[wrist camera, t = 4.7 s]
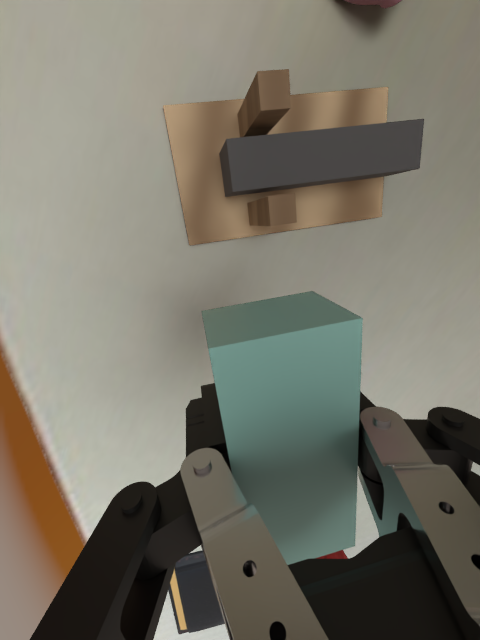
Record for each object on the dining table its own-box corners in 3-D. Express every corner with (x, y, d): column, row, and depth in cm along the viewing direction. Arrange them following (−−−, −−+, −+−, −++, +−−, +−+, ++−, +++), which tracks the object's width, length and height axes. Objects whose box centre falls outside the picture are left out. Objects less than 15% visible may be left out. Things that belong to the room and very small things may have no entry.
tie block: (312, 291, 10) (362, 318, 7) (319, 477, 13) (355, 545, 10) (201, 311, 9) (208, 348, 7) (237, 499, 13) (251, 578, 10)
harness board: (385, 88, 25) (460, 38, 18) (379, 216, 29) (439, 215, 22) (163, 107, 22) (153, 56, 16) (189, 245, 26) (190, 252, 19)
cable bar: (385, 135, 26) (424, 118, 22) (383, 176, 27) (419, 168, 23) (219, 153, 24) (226, 138, 20) (225, 197, 25) (232, 191, 21)
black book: (263, 621, 48) (174, 645, 45) (260, 607, 50) (174, 629, 47) (264, 545, 41) (160, 568, 39) (261, 532, 43) (161, 553, 40)
